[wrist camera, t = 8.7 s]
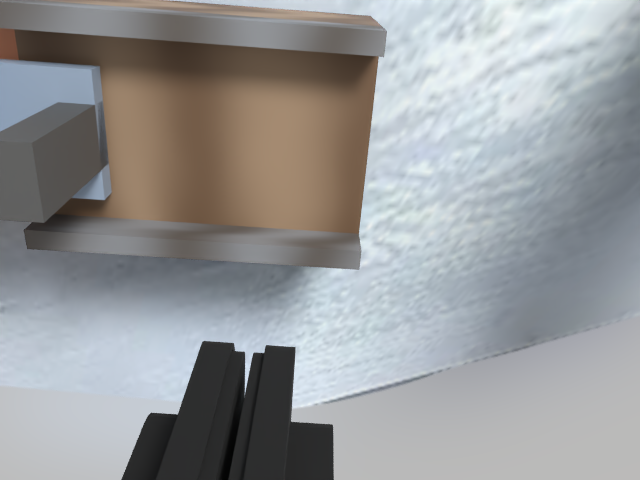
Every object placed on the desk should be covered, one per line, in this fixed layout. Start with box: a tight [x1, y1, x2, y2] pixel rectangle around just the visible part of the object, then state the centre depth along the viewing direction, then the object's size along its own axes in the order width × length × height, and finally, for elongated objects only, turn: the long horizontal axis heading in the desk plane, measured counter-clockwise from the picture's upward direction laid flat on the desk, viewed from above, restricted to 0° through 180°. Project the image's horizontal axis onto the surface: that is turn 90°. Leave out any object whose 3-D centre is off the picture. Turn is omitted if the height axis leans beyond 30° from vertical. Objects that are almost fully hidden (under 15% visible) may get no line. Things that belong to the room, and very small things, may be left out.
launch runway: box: [0, 0, 387, 270], centre depth 28 cm, size 16×11×8 cm
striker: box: [0, 59, 112, 223], centre depth 23 cm, size 6×7×7 cm
